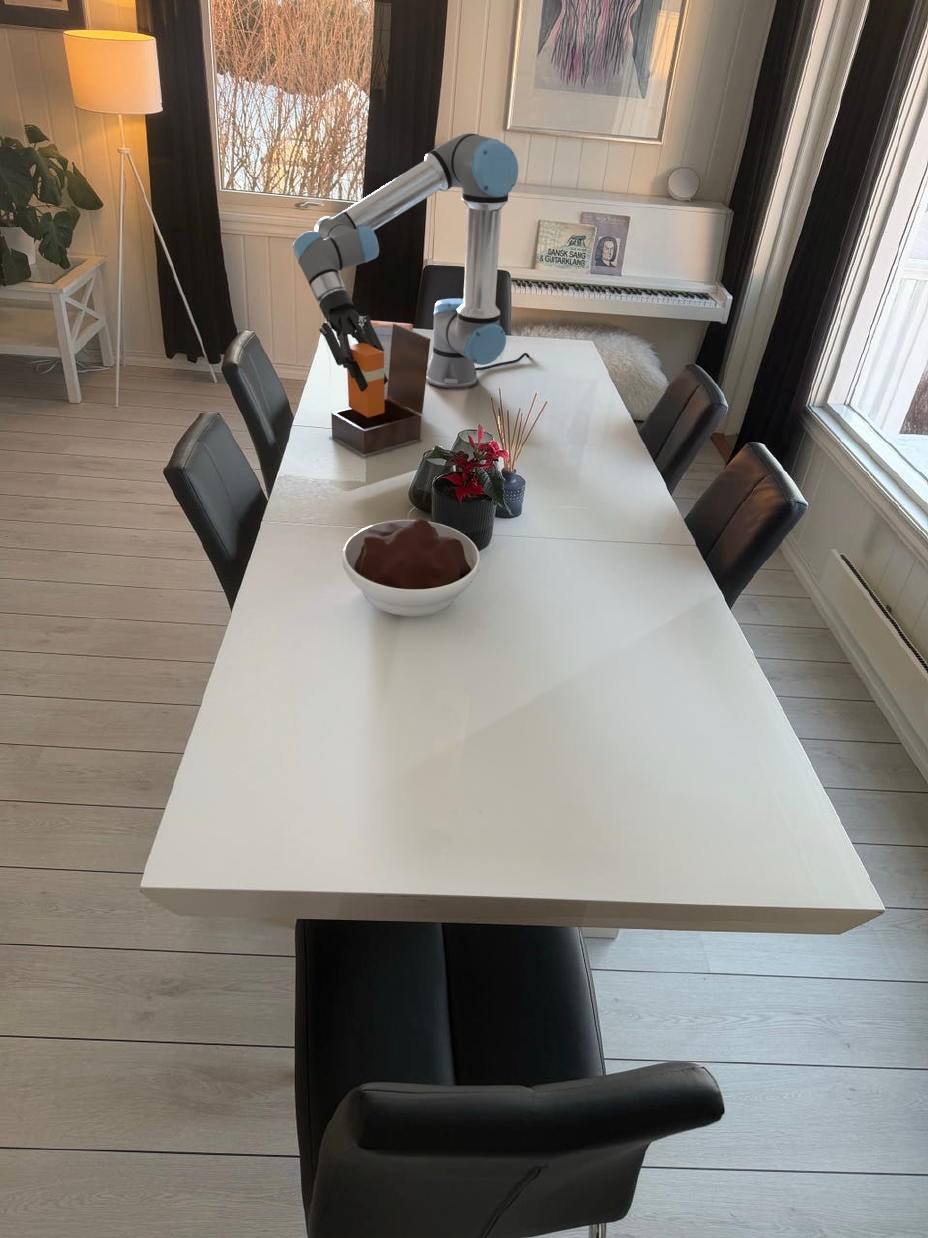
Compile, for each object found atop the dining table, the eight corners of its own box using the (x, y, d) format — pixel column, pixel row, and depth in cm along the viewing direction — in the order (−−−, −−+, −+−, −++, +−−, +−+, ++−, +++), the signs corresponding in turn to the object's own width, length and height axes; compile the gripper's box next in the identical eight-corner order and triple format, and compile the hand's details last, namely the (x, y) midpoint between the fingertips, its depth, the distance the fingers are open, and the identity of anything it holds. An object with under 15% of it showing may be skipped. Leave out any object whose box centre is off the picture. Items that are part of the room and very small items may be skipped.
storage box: (364, 457, 206) (363, 431, 202) (331, 438, 214) (331, 412, 210) (420, 441, 216) (421, 415, 212) (387, 423, 224) (387, 398, 220)
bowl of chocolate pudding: (357, 555, 169) (356, 486, 161) (482, 568, 168) (488, 500, 160) (329, 628, 149) (326, 554, 140) (470, 643, 148) (476, 570, 139)
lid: (428, 338, 201) (430, 338, 202) (392, 323, 209) (395, 323, 210) (420, 414, 211) (422, 413, 212) (386, 396, 219) (389, 396, 220)
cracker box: (411, 398, 239) (413, 322, 226) (408, 406, 234) (410, 329, 222) (362, 393, 239) (362, 317, 227) (358, 401, 234) (357, 324, 222)
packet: (365, 401, 212) (363, 341, 203) (385, 412, 207) (384, 351, 198) (348, 406, 209) (345, 346, 200) (368, 417, 204) (366, 356, 195)
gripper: (357, 300, 210) (397, 385, 210) (294, 311, 199) (336, 401, 199) (370, 283, 203) (411, 371, 203) (305, 293, 193) (349, 386, 193)
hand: (374, 385), depth 201 cm, fingers closed on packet, 5 cm apart
